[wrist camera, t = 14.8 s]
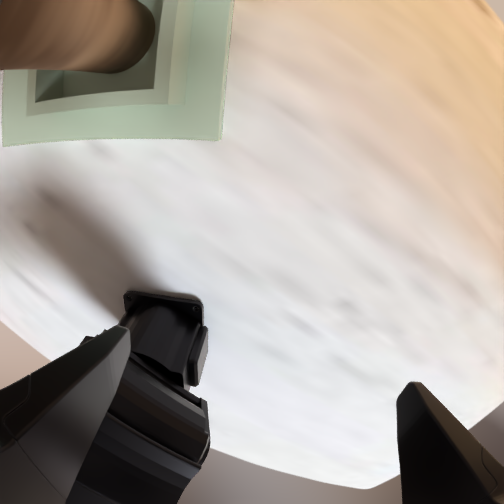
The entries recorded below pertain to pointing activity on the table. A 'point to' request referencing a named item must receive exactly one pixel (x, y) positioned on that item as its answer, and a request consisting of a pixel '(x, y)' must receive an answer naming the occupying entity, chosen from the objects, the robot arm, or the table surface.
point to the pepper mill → (74, 34)
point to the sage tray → (132, 86)
